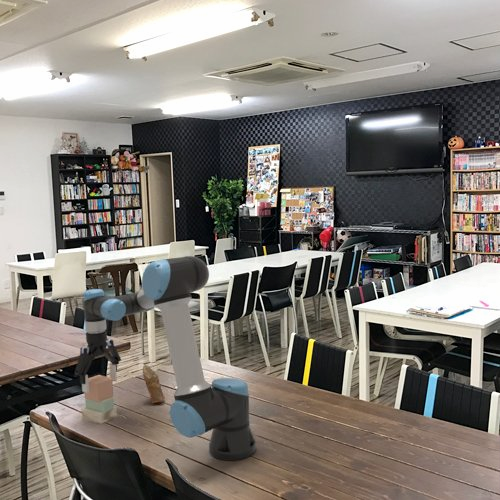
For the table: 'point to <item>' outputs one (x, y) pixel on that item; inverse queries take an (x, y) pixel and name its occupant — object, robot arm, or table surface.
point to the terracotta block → (99, 388)
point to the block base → (99, 415)
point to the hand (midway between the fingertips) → (100, 386)
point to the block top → (100, 405)
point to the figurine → (153, 385)
